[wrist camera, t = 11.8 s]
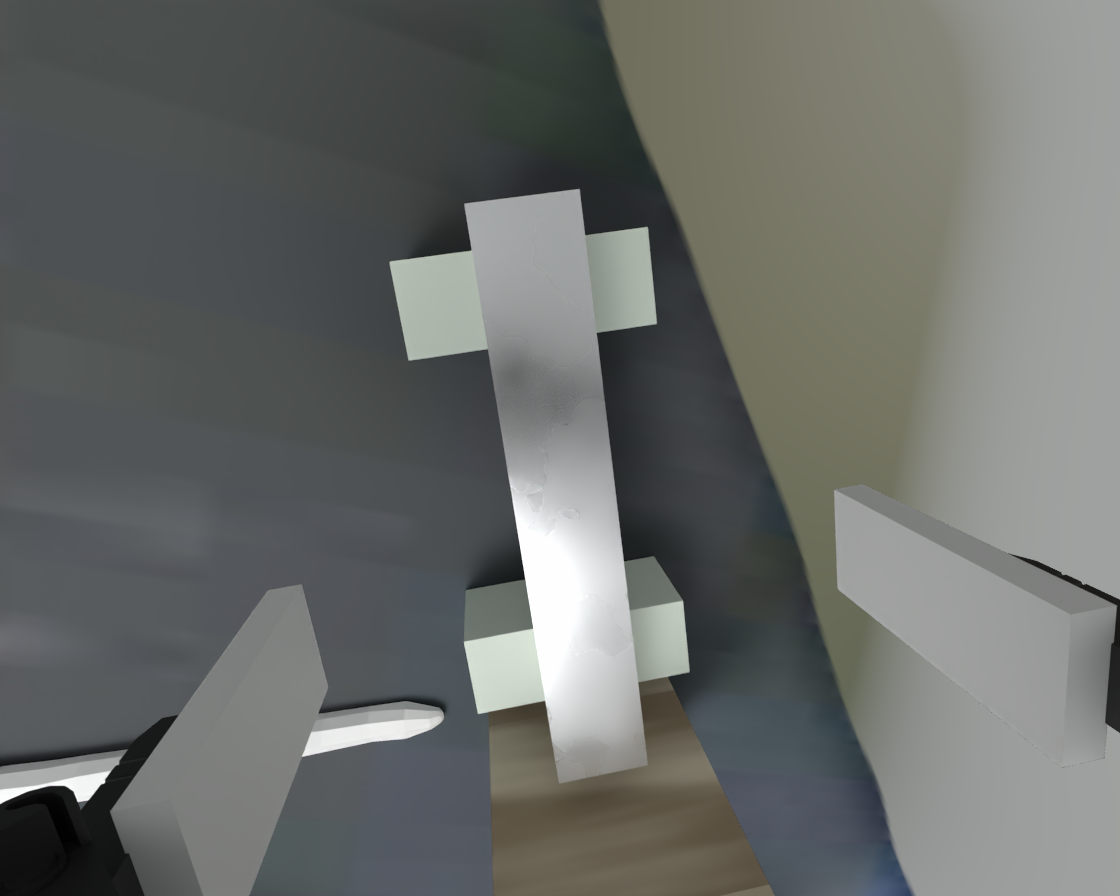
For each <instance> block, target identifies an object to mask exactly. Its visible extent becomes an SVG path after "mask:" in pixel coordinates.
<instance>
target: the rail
mask: <svg viewBox="0 0 1120 896" xmlns="http://www.w3.org/2000/svg"><path fill="white" fill-rule="evenodd" d="M464 206H465V212H466V218H467V225H468V231H469V237H470V243H471V249H472V255H473V261H474V267H475V274H476V280H477V286H478V292H479V298H480V304H481V310H482V316H483V323H484V329H485V335H486V341H487V347H488V353H489V359H490V365H491V371H492V378H493V384H494V390H495V396H496V402H497V408H498V414H499V420H500V427H501V433H502V439H503V445H504V451H505V457H506V463H507V469H508V476H509V482H510V488H511V494H512V500H513V506H514V512H515V518H516V524H517V531H518V537H519V543H520V549H521V555H522V561H523V567H524V573H525V580H526V586H527V592H528V598H529V604H530V610H531V616H532V622H533V629H534V635H535V641H536V647H537V653H538V659H539V665H540V671H541V677H542V684H543V690H544V696H545V702H546V708H547V714H548V720H549V726H550V732H551V739H552V745H553V751H554V757H555V763H556V769H557V775H558V781H559V784H561V783H565V782H570V781H575V780H580V779H585V778H589V777H594V776H599V775H604V774H608V773H613V772H618V771H623V770H627V769H632V768H637V767H642V766H647V765H648V761H647V753H646V744H645V736H644V728H643V719H642V711H641V702H640V694H639V685H638V677H637V669H636V660H635V652H634V643H633V635H632V626H631V618H630V610H629V601H628V593H627V584H626V576H625V568H624V559H623V551H622V542H621V534H620V525H619V517H618V509H617V500H616V492H615V483H614V475H613V466H612V458H611V450H610V441H609V433H608V424H607V416H606V407H605V399H604V391H603V382H602V374H601V365H600V357H599V348H598V340H597V332H596V323H595V315H594V306H593V298H592V289H591V281H590V273H589V264H588V256H587V247H586V239H585V230H584V222H583V214H582V205H581V197H580V189H575V190H567V191H560V192H552V193H544V194H536V195H528V196H521V197H513V198H505V199H497V200H489V201H482V202H474V203H466V204H464Z"/></svg>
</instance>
